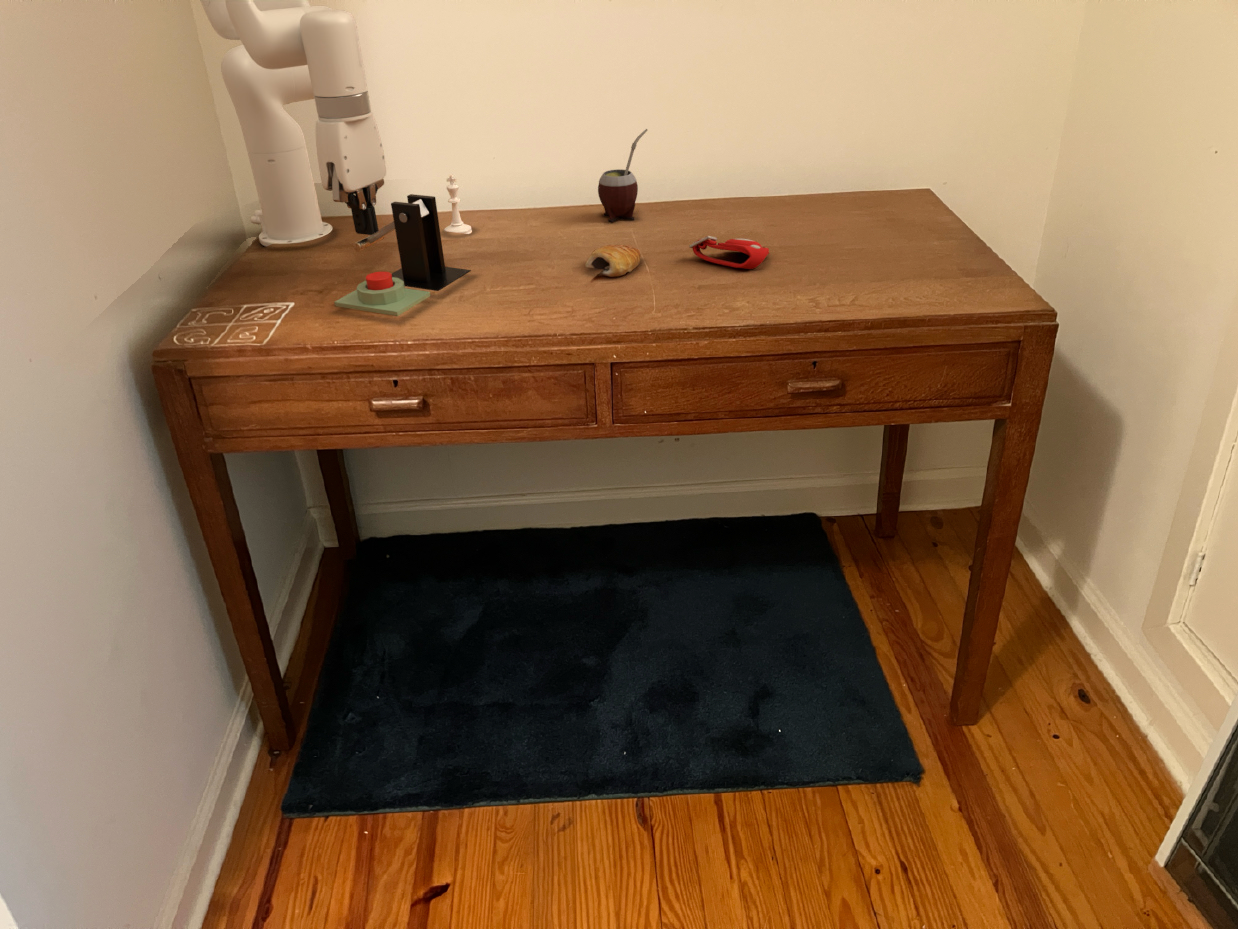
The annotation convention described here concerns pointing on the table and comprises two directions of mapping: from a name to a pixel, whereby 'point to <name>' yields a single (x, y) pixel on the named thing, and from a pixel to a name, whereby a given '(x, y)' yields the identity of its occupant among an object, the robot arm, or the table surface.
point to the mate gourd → (619, 190)
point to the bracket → (421, 246)
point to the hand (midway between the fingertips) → (367, 232)
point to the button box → (383, 298)
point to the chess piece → (455, 210)
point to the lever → (385, 230)
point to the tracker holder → (740, 245)
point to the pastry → (614, 259)
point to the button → (379, 281)
